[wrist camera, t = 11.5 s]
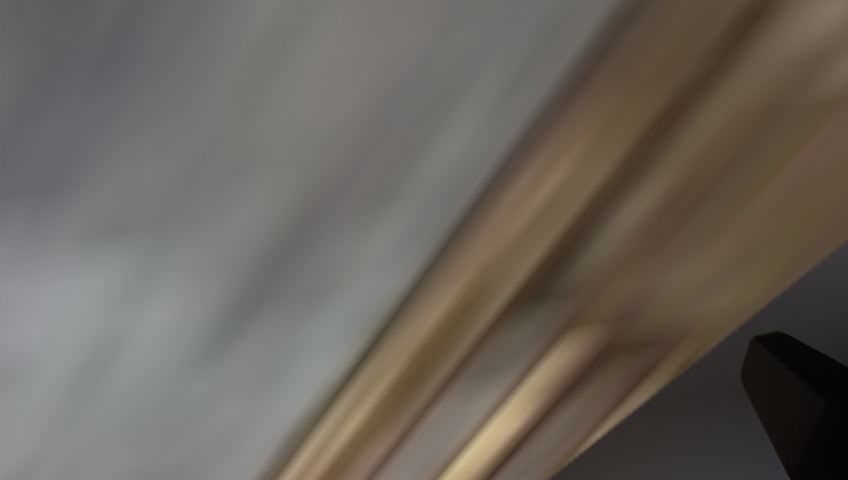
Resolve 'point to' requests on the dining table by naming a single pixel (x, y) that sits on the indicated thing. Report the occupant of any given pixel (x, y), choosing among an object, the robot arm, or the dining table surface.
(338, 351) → the dining table surface
